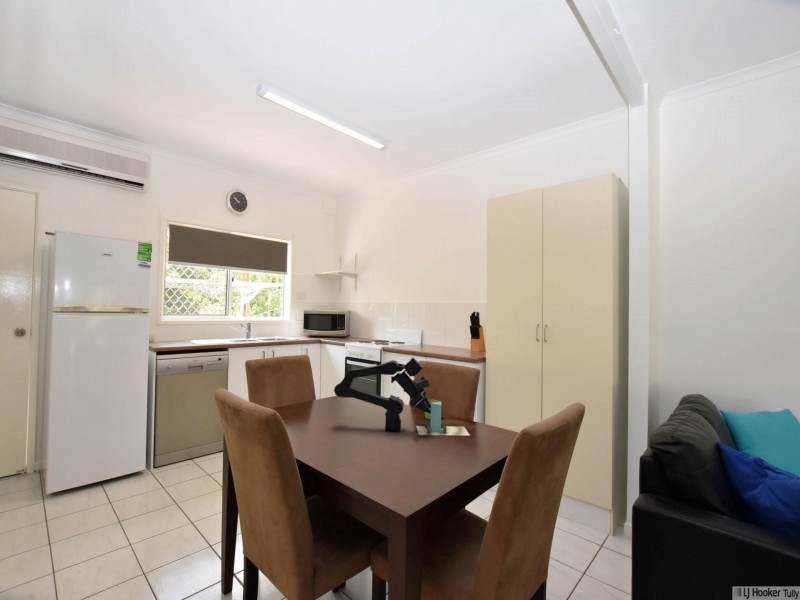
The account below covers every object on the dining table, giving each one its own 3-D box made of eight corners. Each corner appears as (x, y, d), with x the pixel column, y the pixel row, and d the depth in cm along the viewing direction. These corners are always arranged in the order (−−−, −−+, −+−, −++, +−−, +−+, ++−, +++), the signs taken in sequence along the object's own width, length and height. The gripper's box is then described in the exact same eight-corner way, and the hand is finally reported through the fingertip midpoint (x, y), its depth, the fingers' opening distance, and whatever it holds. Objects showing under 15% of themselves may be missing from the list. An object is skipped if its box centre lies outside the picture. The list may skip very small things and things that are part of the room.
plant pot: (418, 417, 188) (419, 400, 188) (435, 416, 192) (435, 399, 192) (427, 423, 179) (428, 404, 179) (444, 421, 183) (445, 403, 183)
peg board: (418, 437, 159) (419, 427, 159) (416, 428, 171) (416, 419, 171) (470, 437, 160) (470, 428, 160) (463, 428, 172) (464, 420, 172)
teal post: (430, 431, 163) (431, 404, 164) (430, 428, 168) (431, 401, 168) (440, 432, 163) (441, 404, 163) (440, 429, 167) (440, 402, 168)
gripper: (418, 375, 158) (444, 403, 156) (421, 368, 176) (443, 393, 175) (399, 392, 158) (424, 420, 157) (403, 384, 177) (426, 409, 175)
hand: (430, 410), depth 166 cm, fingers open, 9 cm apart
